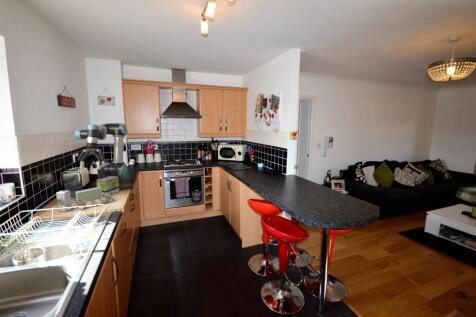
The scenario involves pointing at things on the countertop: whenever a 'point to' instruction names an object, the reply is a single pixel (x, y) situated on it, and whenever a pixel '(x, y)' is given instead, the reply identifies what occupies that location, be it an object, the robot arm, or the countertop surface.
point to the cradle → (95, 201)
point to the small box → (73, 188)
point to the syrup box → (63, 200)
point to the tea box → (109, 184)
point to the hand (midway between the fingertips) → (90, 169)
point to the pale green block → (89, 194)
